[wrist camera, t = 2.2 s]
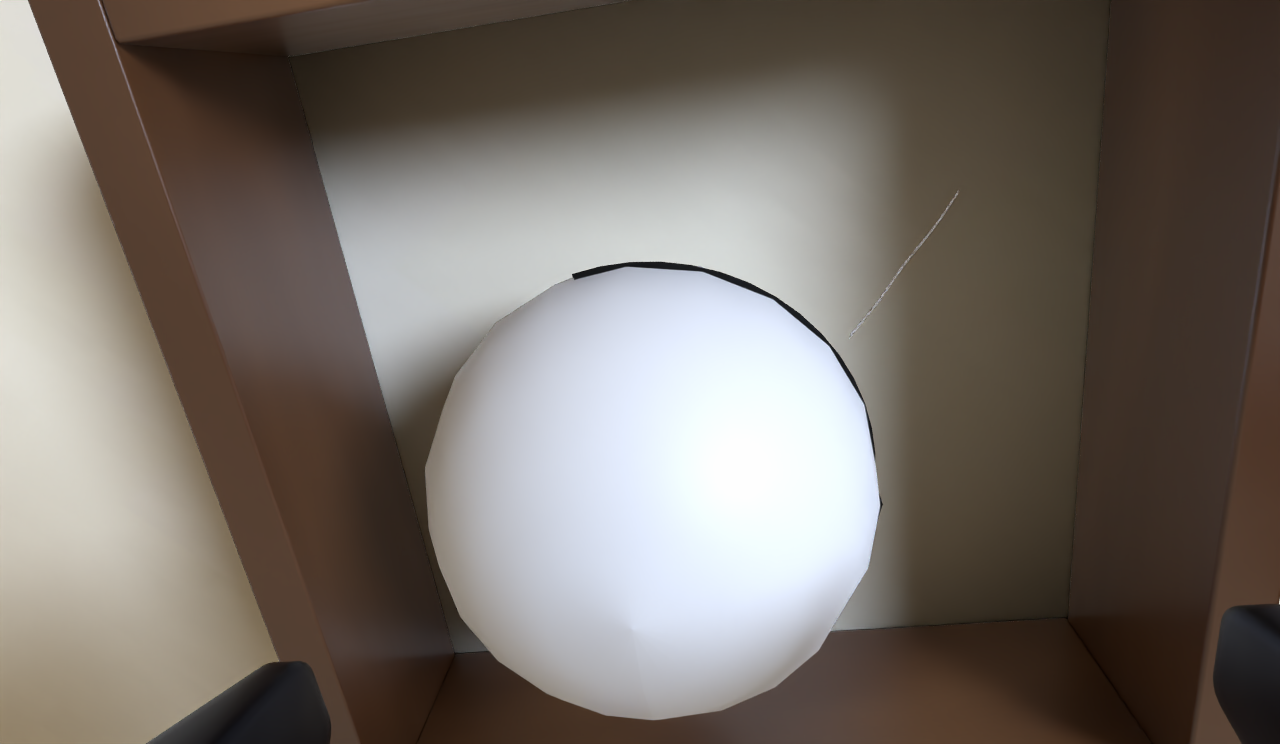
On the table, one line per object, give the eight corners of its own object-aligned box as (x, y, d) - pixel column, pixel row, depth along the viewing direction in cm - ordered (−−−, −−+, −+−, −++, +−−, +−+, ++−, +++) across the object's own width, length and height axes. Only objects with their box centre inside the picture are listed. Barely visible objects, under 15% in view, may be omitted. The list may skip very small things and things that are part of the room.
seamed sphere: (636, 597, 18) (594, 914, 11) (424, 362, 16) (219, 565, 9) (1025, 366, 15) (1292, 597, 8) (821, 50, 13) (944, 13, 7)
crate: (1186, -162, 12) (1449, -297, 8) (1109, 648, 17) (1240, 828, 13) (223, 8, 14) (15, -27, 10) (426, 685, 19) (350, 851, 15)
